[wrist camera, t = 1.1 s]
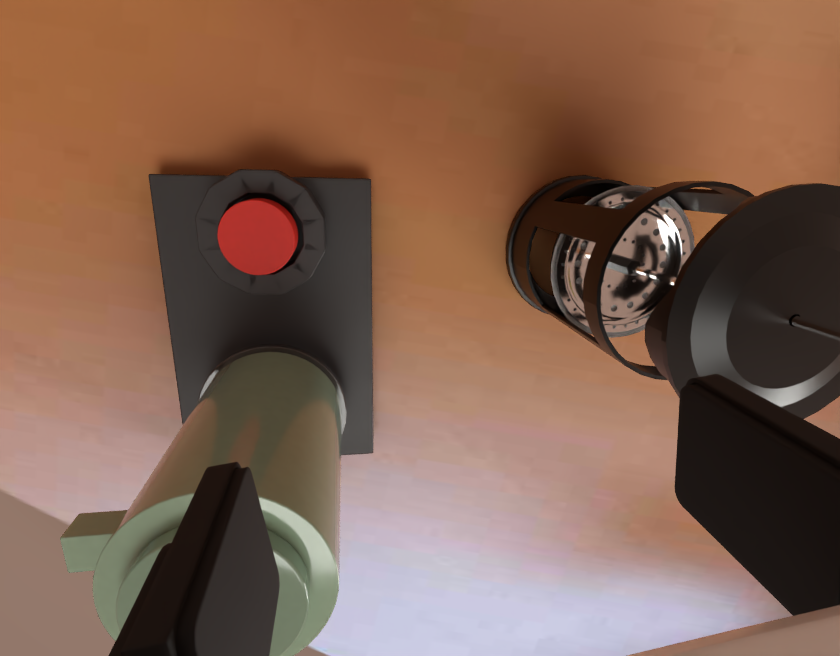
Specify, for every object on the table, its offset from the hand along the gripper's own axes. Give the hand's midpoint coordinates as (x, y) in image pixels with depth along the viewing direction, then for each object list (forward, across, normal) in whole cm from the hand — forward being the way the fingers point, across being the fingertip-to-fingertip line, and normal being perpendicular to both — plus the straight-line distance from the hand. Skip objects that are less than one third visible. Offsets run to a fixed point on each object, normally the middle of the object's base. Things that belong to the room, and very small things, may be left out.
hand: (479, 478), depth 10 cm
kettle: (+19, +9, +8) cm, 22 cm away
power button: (+19, +7, -4) cm, 21 cm away
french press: (+23, -13, +1) cm, 26 cm away
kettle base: (+22, +8, +2) cm, 24 cm away
